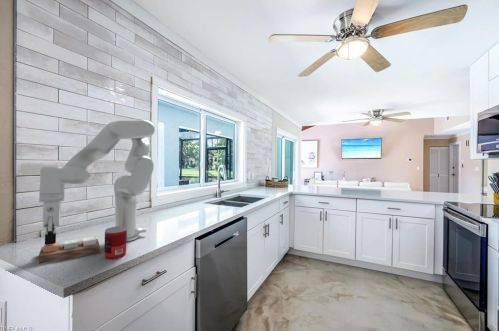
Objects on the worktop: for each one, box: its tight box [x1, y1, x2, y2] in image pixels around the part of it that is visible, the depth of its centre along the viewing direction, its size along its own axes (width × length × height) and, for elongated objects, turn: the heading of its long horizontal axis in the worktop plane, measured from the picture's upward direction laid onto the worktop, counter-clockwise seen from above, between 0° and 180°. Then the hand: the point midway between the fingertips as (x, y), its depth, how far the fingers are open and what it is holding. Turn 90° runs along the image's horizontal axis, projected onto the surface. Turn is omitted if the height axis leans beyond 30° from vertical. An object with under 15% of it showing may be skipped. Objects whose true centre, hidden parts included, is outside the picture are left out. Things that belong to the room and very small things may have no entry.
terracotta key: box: [42, 241, 60, 253], centre depth 90 cm, size 5×5×3 cm
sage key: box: [63, 238, 79, 249], centre depth 94 cm, size 5×5×3 cm
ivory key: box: [82, 236, 97, 246], centre depth 98 cm, size 5×5×3 cm
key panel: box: [37, 238, 101, 265], centre depth 94 cm, size 19×11×3 cm, turn 128°
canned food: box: [103, 226, 128, 260], centre depth 93 cm, size 8×8×11 cm
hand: (50, 243), depth 90 cm, fingers closed
